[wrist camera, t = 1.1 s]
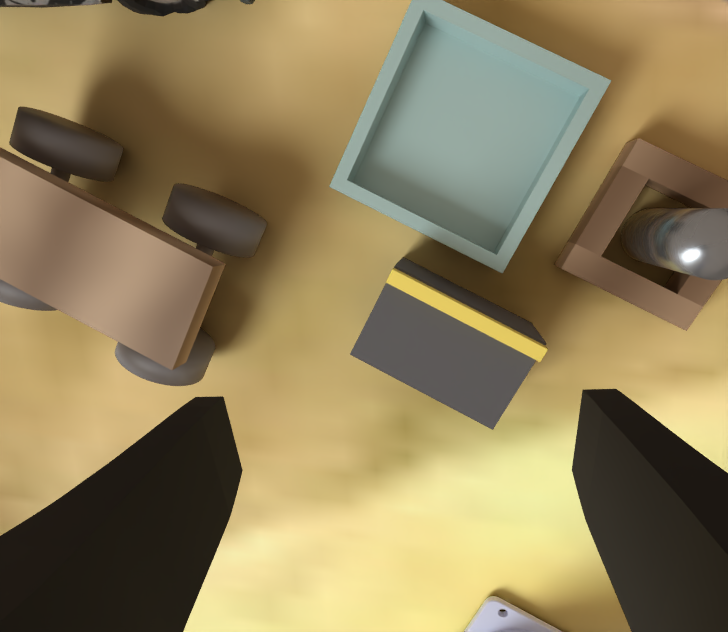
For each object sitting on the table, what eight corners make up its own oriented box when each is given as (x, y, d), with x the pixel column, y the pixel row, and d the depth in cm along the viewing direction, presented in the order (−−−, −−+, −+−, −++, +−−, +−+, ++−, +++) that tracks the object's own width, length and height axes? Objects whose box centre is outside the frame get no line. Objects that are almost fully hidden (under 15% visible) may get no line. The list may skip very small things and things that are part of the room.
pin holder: (753, 203, 22) (775, 203, 20) (671, 323, 23) (686, 330, 22) (626, 142, 22) (638, 138, 21) (554, 264, 24) (560, 268, 22)
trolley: (279, 224, 25) (217, 230, 18) (218, 367, 27) (143, 419, 21) (67, 116, 26) (-67, 84, 19) (24, 265, 28) (-110, 283, 21)
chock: (531, 322, 24) (549, 347, 20) (486, 396, 26) (493, 435, 21) (403, 256, 25) (393, 267, 20) (364, 332, 26) (347, 358, 21)
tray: (596, 92, 22) (611, 80, 20) (497, 268, 24) (502, 273, 22) (419, 7, 22) (416, -12, 20) (338, 188, 24) (329, 186, 22)
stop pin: (689, 223, 22) (775, 228, 16) (658, 271, 23) (729, 292, 17) (640, 198, 22) (707, 195, 17) (610, 247, 23) (665, 260, 17)
